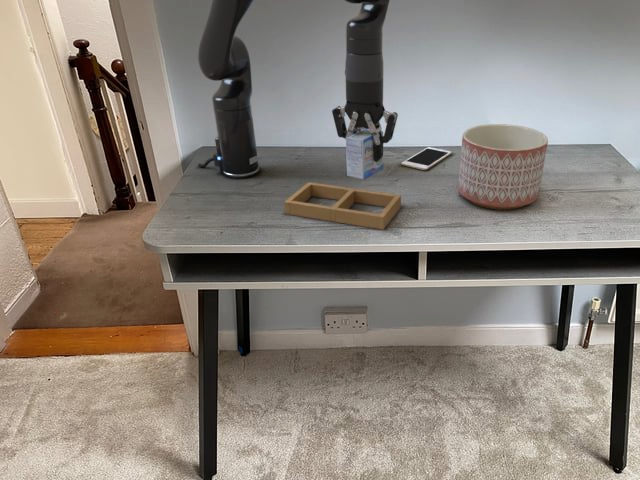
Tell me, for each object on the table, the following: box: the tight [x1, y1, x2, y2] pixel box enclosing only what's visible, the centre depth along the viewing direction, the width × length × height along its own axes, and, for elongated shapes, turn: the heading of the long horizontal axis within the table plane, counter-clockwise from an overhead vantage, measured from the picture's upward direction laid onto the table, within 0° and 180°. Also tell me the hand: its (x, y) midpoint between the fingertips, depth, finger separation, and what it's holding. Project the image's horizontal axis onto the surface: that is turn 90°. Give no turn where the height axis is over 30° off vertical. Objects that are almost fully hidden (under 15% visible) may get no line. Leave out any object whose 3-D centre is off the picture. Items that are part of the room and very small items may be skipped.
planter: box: [458, 123, 549, 210], centre depth 130 cm, size 19×19×15 cm
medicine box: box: [345, 129, 384, 181], centre depth 118 cm, size 8×4×9 cm, turn 148°
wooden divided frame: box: [284, 181, 402, 230], centre depth 126 cm, size 24×12×3 cm, turn 71°
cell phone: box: [401, 146, 452, 171], centre depth 155 cm, size 8×16×1 cm, turn 148°
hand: (364, 158), depth 119 cm, fingers closed on medicine box, 5 cm apart
